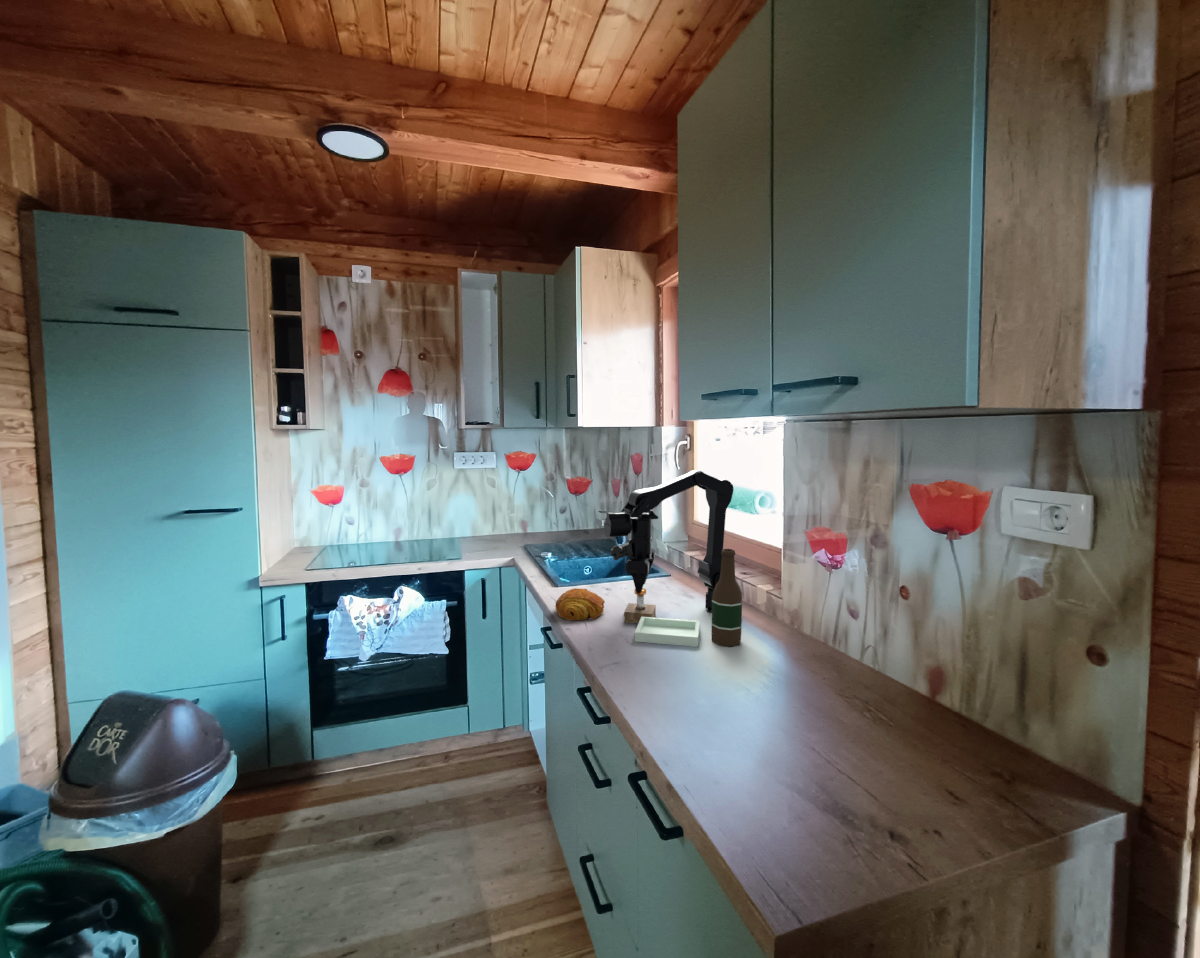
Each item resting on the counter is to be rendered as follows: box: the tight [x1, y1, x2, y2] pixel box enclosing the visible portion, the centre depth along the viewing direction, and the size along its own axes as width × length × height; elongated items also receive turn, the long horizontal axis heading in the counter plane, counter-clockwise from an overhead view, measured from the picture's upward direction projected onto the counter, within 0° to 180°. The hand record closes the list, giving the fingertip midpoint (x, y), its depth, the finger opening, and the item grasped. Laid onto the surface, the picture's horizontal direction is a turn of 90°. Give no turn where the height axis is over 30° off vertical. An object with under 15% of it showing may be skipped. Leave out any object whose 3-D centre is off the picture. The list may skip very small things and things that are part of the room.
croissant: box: [554, 588, 605, 621], centre depth 159 cm, size 14×16×8 cm
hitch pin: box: [633, 587, 647, 610], centre depth 154 cm, size 3×3×8 cm
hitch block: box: [623, 602, 657, 624], centre depth 155 cm, size 8×8×3 cm
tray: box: [634, 617, 701, 648], centre depth 142 cm, size 16×12×2 cm
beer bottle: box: [710, 548, 743, 648], centre depth 137 cm, size 8×8×24 cm
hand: (640, 588), depth 154 cm, fingers open, 9 cm apart
